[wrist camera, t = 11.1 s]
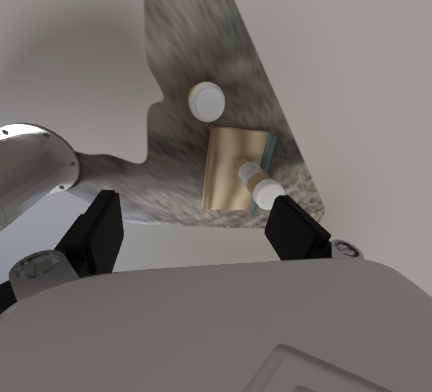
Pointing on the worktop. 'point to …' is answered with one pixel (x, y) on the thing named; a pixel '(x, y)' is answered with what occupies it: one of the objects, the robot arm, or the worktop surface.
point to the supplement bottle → (206, 101)
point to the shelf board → (224, 166)
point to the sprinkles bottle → (258, 182)
